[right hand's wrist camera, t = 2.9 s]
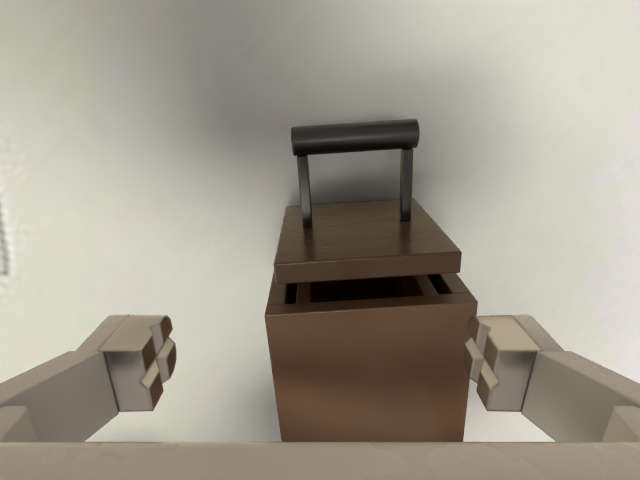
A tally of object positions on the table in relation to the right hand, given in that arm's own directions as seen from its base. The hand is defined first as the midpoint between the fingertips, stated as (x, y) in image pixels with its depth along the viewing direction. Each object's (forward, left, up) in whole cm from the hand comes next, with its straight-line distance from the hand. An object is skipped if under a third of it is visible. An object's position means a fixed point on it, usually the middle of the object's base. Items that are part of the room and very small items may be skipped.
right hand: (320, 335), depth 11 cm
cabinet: (+13, -4, -19) cm, 23 cm away
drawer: (+8, -1, -18) cm, 20 cm away
